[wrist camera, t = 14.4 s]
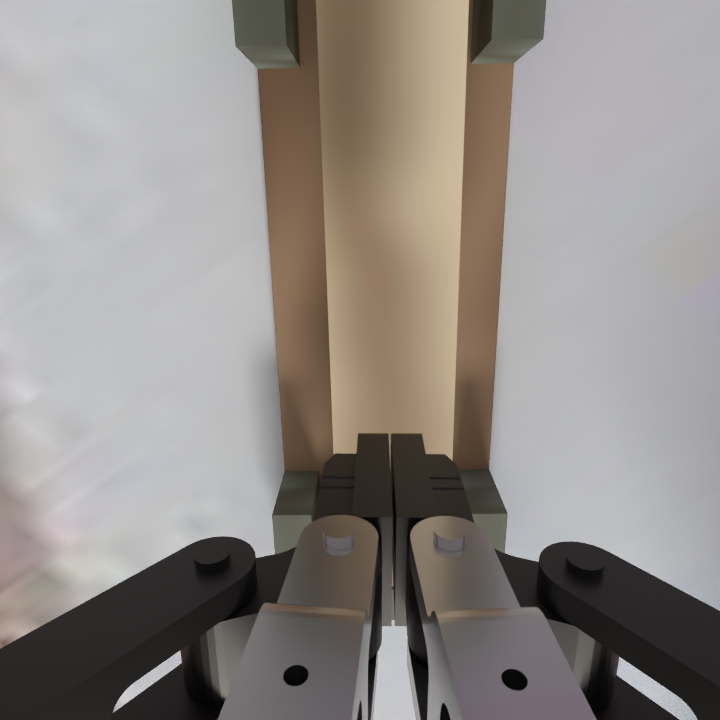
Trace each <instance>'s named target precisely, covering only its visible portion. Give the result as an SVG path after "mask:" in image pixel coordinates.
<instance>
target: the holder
mask: <svg viewBox="0 0 720 720" xmlns="http://www.w3.org/2000/svg"><path fill="white" fill-rule="evenodd" d="M232 5H233V18H234V31H235V44H236V47H237V48H238V49H239V50H240V51H241V52H242V53H243V54H244V55H245V56H246V57H247V58H248V59H249V60H250V61H251V62H252V63H253V64H254V65H255V66H256V67H257V68H258V80H259V95H260V110H261V125H262V139H263V154H264V169H265V184H266V199H267V213H268V228H269V243H270V258H271V273H272V287H273V302H274V317H275V332H276V346H277V361H278V376H279V391H280V406H281V420H282V435H283V450H284V465H285V473H284V476H283V480H282V483H281V487H280V490H279V493H278V497H277V500H276V504H275V507H274V511H273V514H272V519H273V532H274V545H275V554H279V553H282V552H285V551H288V550H290V549H292V548H294V547H296V546H297V544H298V541H299V538H300V535H301V533H302V531H303V530H304V528H305V527H306V526H307V525H309V524H310V523H311V522H313V520H314V515H315V510H316V505H317V499H318V494H319V489H320V484H321V479H322V473H323V468H324V464H325V463H326V462H327V461H328V460H329V459H330V458H331V457H332V456H333V455H334V454H333V428H332V402H331V377H330V351H329V325H328V299H327V273H326V247H325V222H324V196H323V170H322V144H321V118H320V92H319V67H318V41H317V15H316V0H232ZM545 9H546V0H469V14H468V42H467V70H466V98H465V126H464V153H463V181H462V209H461V237H460V265H459V293H458V320H457V348H456V376H455V404H454V432H453V460H452V461H453V462H454V463H456V464H457V466H458V469H459V473H460V476H461V480H462V483H463V486H464V490H465V493H466V496H467V500H468V503H469V506H470V510H471V513H472V516H473V520H474V523H475V524H477V525H478V526H480V527H481V528H482V529H483V530H484V531H485V532H486V533H487V535H488V536H489V539H490V541H491V543H492V545H493V547H494V549H496V550H498V551H500V552H502V553H505V540H506V527H507V511H506V509H505V507H504V504H503V502H502V499H501V497H500V495H499V492H498V490H497V487H496V485H495V483H494V480H493V478H492V476H491V473H490V471H489V458H490V442H491V426H492V409H493V393H494V377H495V360H496V344H497V328H498V312H499V295H500V279H501V263H502V246H503V230H504V214H505V197H506V181H507V165H508V149H509V132H510V116H511V100H512V83H513V67H514V62H515V61H517V60H518V59H519V58H520V57H522V56H523V55H524V54H525V53H526V52H528V51H529V50H530V49H531V48H533V47H534V46H535V45H536V44H537V43H539V42H540V41H541V40H542V39H543V35H544V22H545ZM391 620H395V616H394V593H393V586H392V614H391Z"/></svg>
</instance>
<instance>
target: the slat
mask: <svg viewBox="0 0 720 720" xmlns="http://www.w3.org/2000/svg"><path fill="white" fill-rule="evenodd" d="M468 14H469V0H316V15H317V41H318V67H319V92H320V118H321V144H322V170H323V196H324V222H325V247H326V273H327V299H328V325H329V351H330V377H331V402H332V428H333V454H335V453H341V454H356V452H357V439H358V433H388V434H389V454H390V457H391V433H422V437H423V442H424V447H425V452H426V454H445V455H446V456H448V457H449V458H450V459H451V460H453V432H454V404H455V376H456V348H457V320H458V293H459V265H460V237H461V209H462V181H463V153H464V126H465V98H466V70H467V42H468ZM392 586H393V570H392Z"/></svg>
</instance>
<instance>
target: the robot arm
mask: <svg viewBox="0 0 720 720" xmlns="http://www.w3.org/2000/svg"><path fill="white" fill-rule="evenodd" d="M392 570H393V593H394V616H395V626H407V635H408V645H407V666H408V672H409V678H410V685H411V691H412V698H413V704H414V710H415V717H416V720H679V719H678V718H676V717H675V716H673V715H672V714H670V713H669V712H668V711H666V710H665V709H663V708H662V707H661V706H659V705H658V704H656V703H655V702H653V701H652V700H651V699H649V698H648V697H646V696H645V695H644V694H642V693H641V692H639V691H638V690H636V689H635V688H634V687H632V686H631V685H629V684H628V683H627V682H625V681H624V680H622V679H621V678H619V677H618V676H617V675H616V674H617V668H618V661H619V656H620V657H621V658H622V659H624V660H625V661H627V662H628V663H630V664H631V665H633V666H634V667H636V668H637V669H639V670H640V671H642V672H643V673H645V674H646V675H648V676H649V677H651V678H652V679H654V680H655V681H657V682H658V683H659V684H661V685H662V686H664V687H665V688H667V689H668V690H670V691H671V692H673V693H674V694H676V695H677V696H678V697H680V698H681V699H682V700H683V701H684V702H685V703H686V704H687V705H688V706H689V707H690V708H691V710H692V711H693V712H694V714H695V715H696V717H697V719H698V720H720V611H719V610H717V609H715V608H713V607H711V606H709V605H707V604H705V603H704V602H702V601H700V600H698V599H696V598H694V597H692V596H690V595H689V594H687V593H685V592H683V591H681V590H679V589H677V588H675V587H673V586H672V585H670V584H668V583H666V582H664V581H662V580H660V579H658V578H657V577H655V576H653V575H651V574H649V573H647V572H645V571H643V570H641V569H640V568H638V567H636V566H634V565H632V564H630V563H628V562H626V561H625V560H623V559H621V558H619V557H617V556H615V555H613V554H611V553H610V552H608V551H605V550H603V549H601V548H599V547H596V546H593V545H589V544H586V543H580V542H559V543H555V544H552V545H550V546H548V547H546V548H545V549H544V550H543V551H542V552H541V554H540V557H539V562H536V561H531V560H527V559H522V558H518V557H514V556H511V555H508V554H505V553H502V552H500V551H498V550H496V549H494V547H493V545H492V543H491V541H490V539H489V536H488V535H487V533H486V532H485V531H484V530H483V529H482V528H481V527H480V526H478V525H477V524H475V523H474V520H473V516H472V513H471V510H470V506H469V503H468V500H467V496H466V493H465V490H464V486H463V483H462V480H461V476H460V473H459V469H458V466H457V464H456V463H454V462H453V461H452V460H451V459H450V458H449V457H448V456H446V455H445V454H426V452H425V447H424V442H423V437H422V433H391V457H390V454H389V434H388V433H358V439H357V452H356V454H341V453H335V454H334V455H333V456H332V457H331V458H330V459H329V460H328V461H327V462H326V463H325V464H324V468H323V473H322V479H321V484H320V489H319V494H318V499H317V505H316V510H315V515H314V520H313V522H311V523H310V524H309V525H307V526H306V527H305V528H304V530H303V531H302V533H301V535H300V538H299V541H298V544H297V546H296V547H294V548H292V549H290V550H288V551H285V552H282V553H279V554H275V555H270V556H265V557H260V558H256V557H255V552H254V550H253V548H252V547H251V545H250V544H248V543H247V542H245V541H243V540H241V539H238V538H233V537H212V538H207V539H203V540H200V541H197V542H194V543H192V544H190V545H188V546H186V547H185V548H183V549H181V550H179V551H177V552H176V553H174V554H172V555H170V556H168V557H166V558H165V559H163V560H161V561H159V562H157V563H156V564H154V565H152V566H150V567H148V568H146V569H145V570H143V571H141V572H139V573H137V574H136V575H134V576H132V577H130V578H128V579H126V580H125V581H123V582H121V583H119V584H117V585H116V586H114V587H112V588H110V589H108V590H106V591H105V592H103V593H101V594H99V595H97V596H95V597H94V598H92V599H90V600H88V601H86V602H85V603H83V604H81V605H79V606H77V607H75V608H74V609H72V610H70V611H68V612H66V613H65V614H63V615H61V616H59V617H57V618H55V619H54V620H52V621H50V622H48V623H46V624H45V625H43V626H41V627H39V628H37V629H35V630H34V631H32V632H30V633H28V634H26V635H25V636H23V637H21V638H19V639H17V640H15V641H14V642H12V643H10V644H8V645H6V646H5V647H3V648H1V649H0V720H373V713H374V702H375V691H376V679H377V668H378V650H379V648H380V645H381V640H382V626H391V614H392ZM178 651H181V658H182V664H180V665H179V666H177V667H176V668H175V669H173V670H172V671H171V672H169V673H168V674H166V675H165V676H164V677H162V678H161V679H159V680H158V681H157V682H155V683H154V684H153V685H151V686H150V687H148V688H147V689H146V690H144V691H143V692H141V693H140V694H139V695H137V696H136V697H135V698H133V699H132V700H130V701H129V702H128V703H126V704H125V705H124V706H122V707H121V708H119V709H118V710H117V711H115V712H114V713H113V710H114V707H115V705H116V703H117V701H118V699H119V698H120V696H121V695H122V694H123V692H124V691H125V690H126V689H127V688H128V687H129V686H130V685H131V684H133V683H134V682H135V681H137V680H138V679H140V678H141V677H142V676H144V675H145V674H147V673H148V672H150V671H151V670H152V669H154V668H155V667H157V666H158V665H160V664H161V663H162V662H164V661H165V660H167V659H168V658H170V657H171V656H172V655H174V654H175V653H177V652H178Z"/></svg>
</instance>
